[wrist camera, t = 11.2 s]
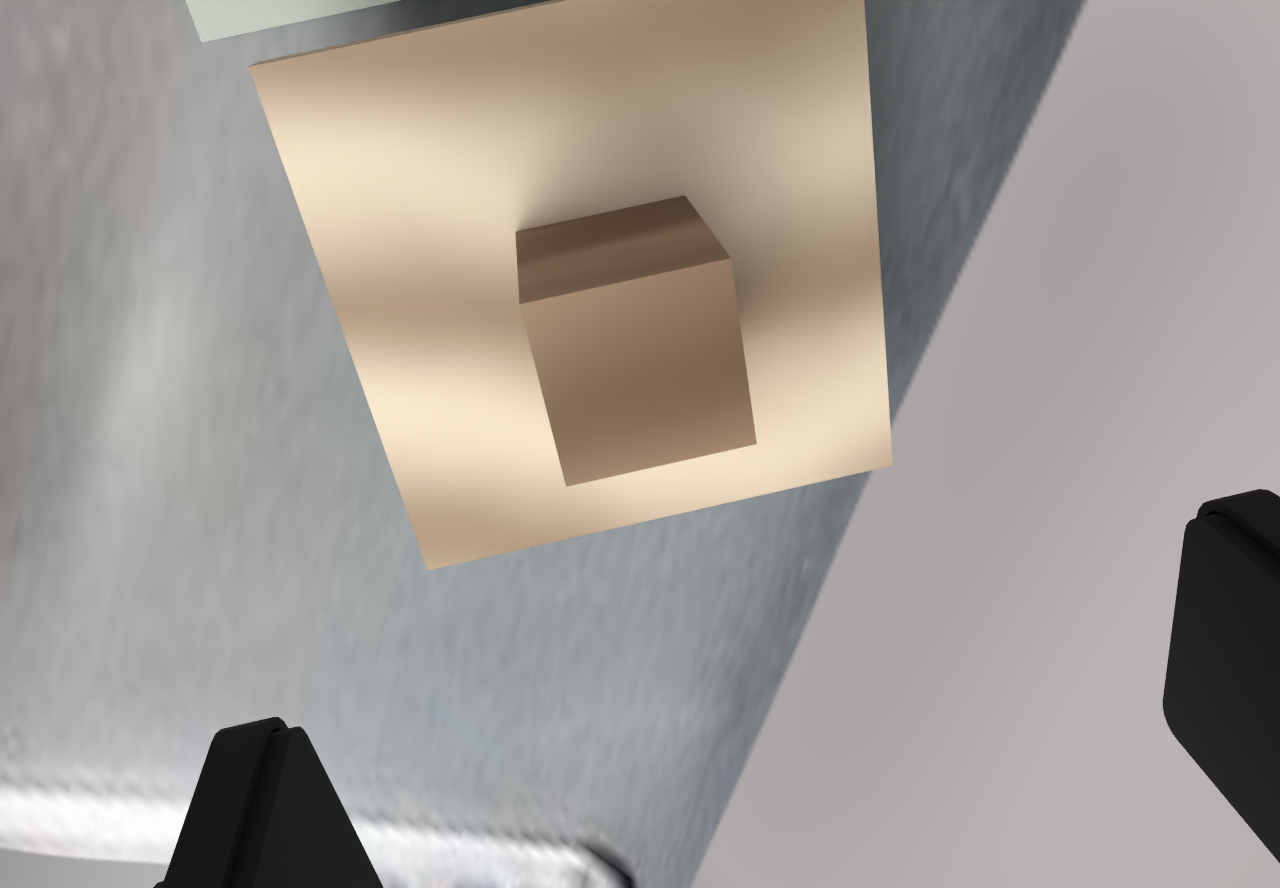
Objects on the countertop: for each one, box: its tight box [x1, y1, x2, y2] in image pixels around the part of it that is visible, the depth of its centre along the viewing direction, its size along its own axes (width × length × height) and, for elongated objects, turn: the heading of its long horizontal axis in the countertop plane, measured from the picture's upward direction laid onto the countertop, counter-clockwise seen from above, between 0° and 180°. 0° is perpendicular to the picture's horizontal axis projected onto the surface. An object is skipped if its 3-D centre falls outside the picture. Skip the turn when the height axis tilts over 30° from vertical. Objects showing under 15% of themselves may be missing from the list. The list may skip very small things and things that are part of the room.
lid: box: [249, 0, 892, 570], centre depth 21 cm, size 13×13×6 cm
